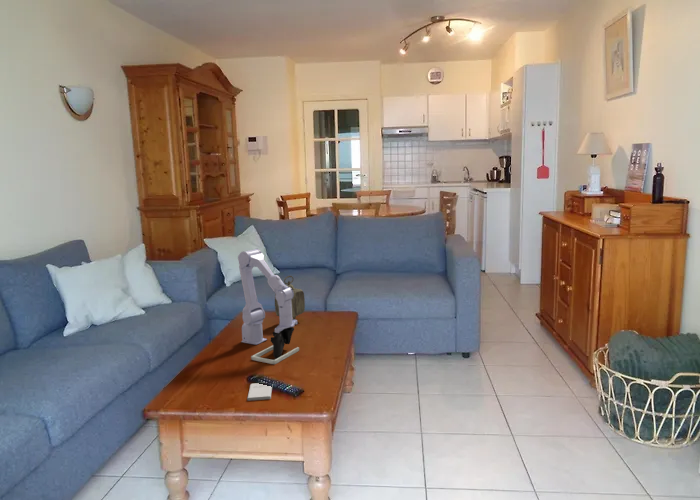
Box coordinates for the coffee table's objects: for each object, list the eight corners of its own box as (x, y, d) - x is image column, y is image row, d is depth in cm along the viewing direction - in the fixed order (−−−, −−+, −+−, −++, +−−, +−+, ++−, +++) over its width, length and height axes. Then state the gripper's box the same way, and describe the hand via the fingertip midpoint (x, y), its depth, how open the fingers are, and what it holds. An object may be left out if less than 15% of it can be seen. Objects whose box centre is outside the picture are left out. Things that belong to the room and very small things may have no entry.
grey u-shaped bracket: (251, 359, 223) (251, 356, 223) (276, 346, 238) (276, 343, 238) (274, 364, 217) (274, 361, 217) (299, 350, 232) (299, 347, 232)
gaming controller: (284, 359, 222) (283, 337, 220) (270, 360, 222) (269, 338, 220) (287, 348, 236) (286, 327, 234) (274, 348, 236) (273, 327, 234)
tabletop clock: (294, 317, 283) (292, 272, 279) (307, 319, 278) (304, 274, 274) (275, 324, 272) (273, 277, 268) (288, 327, 266) (286, 279, 262)
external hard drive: (247, 402, 184) (250, 387, 197) (270, 400, 185) (272, 385, 197) (247, 397, 184) (250, 383, 196) (270, 396, 185) (272, 381, 197)
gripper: (283, 320, 224) (284, 350, 227) (302, 311, 237) (303, 339, 239) (270, 318, 228) (271, 347, 230) (289, 309, 240) (291, 337, 243)
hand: (287, 343), depth 235 cm, fingers closed
